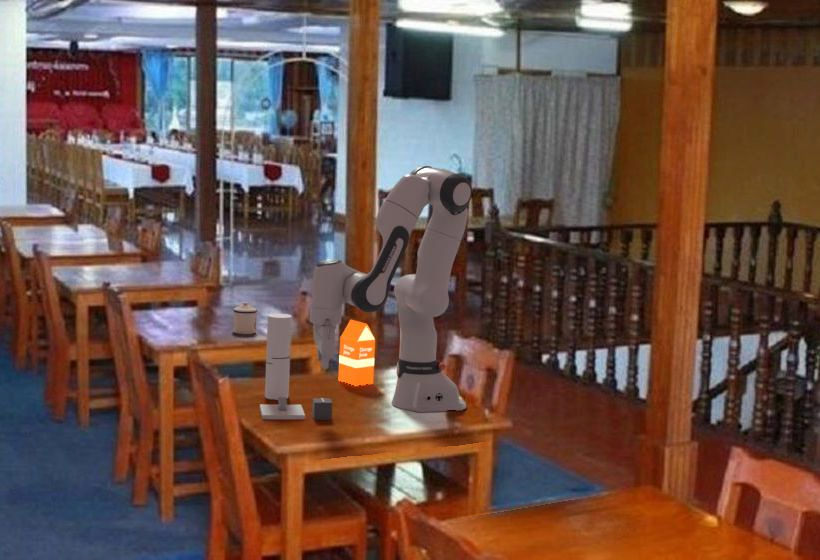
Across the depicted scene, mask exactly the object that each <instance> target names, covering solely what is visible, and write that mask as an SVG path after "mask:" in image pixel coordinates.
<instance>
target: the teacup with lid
mask: <svg viewBox="0 0 820 560" xmlns="http://www.w3.org/2000/svg"><path fill="white" fill-rule="evenodd" d="M257 312H258V310H257V308H255V307H253V306H252V305H250V304H249V302H248V301H245V302H244V301H243V302H242V304H241V305H238V306H236V307H234V308H233V327H232V330H233V331H232V332H233V333H234V334H237V335H252V334H253V333H254V334H255V333H257V315H258V314H257Z"/></svg>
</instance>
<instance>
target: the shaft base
mask: <svg viewBox="0 0 820 560" xmlns="http://www.w3.org/2000/svg"><path fill="white" fill-rule="evenodd" d="M287 399H288V398H286V397H279V398H278V400H277V403H278V404H268V403H267V404H266V403H265V404H261V403H260V404H259V411H260V415H261V419H262V420H306V414H305V411H304V409H303V406H302V404H288V400H287Z"/></svg>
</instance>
